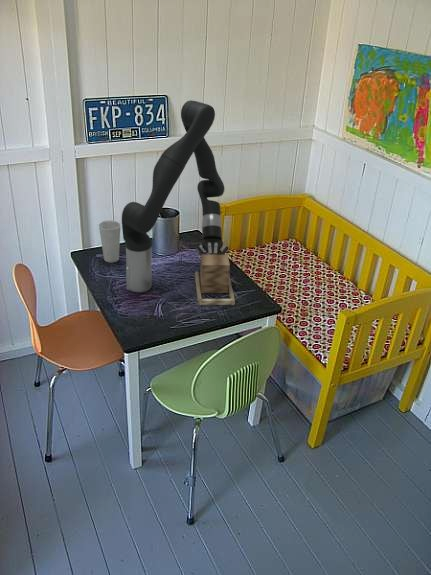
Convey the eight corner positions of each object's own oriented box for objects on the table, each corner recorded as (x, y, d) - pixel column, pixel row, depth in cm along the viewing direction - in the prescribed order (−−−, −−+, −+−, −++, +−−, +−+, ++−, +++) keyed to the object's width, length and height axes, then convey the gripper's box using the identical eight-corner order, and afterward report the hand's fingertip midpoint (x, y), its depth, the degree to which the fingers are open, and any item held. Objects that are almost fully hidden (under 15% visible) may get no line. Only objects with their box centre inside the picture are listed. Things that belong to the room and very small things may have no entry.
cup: (118, 253, 229) (117, 219, 220) (124, 262, 222) (123, 228, 214) (98, 256, 226) (96, 221, 217) (103, 265, 219) (101, 230, 211)
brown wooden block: (200, 293, 203) (202, 265, 197) (199, 281, 210) (200, 254, 204) (228, 293, 204) (230, 265, 198) (225, 281, 211) (227, 254, 205)
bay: (191, 308, 197) (191, 301, 195) (188, 278, 214) (188, 271, 213) (240, 307, 199) (241, 301, 197) (234, 278, 216) (234, 271, 215)
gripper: (195, 224, 208) (196, 268, 204) (229, 224, 210) (231, 268, 206) (194, 230, 216) (194, 273, 212) (227, 231, 217) (228, 273, 213)
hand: (212, 270), depth 209 cm, fingers closed
